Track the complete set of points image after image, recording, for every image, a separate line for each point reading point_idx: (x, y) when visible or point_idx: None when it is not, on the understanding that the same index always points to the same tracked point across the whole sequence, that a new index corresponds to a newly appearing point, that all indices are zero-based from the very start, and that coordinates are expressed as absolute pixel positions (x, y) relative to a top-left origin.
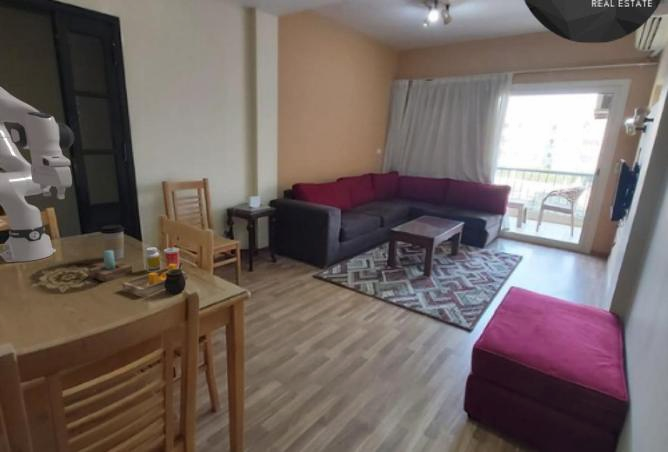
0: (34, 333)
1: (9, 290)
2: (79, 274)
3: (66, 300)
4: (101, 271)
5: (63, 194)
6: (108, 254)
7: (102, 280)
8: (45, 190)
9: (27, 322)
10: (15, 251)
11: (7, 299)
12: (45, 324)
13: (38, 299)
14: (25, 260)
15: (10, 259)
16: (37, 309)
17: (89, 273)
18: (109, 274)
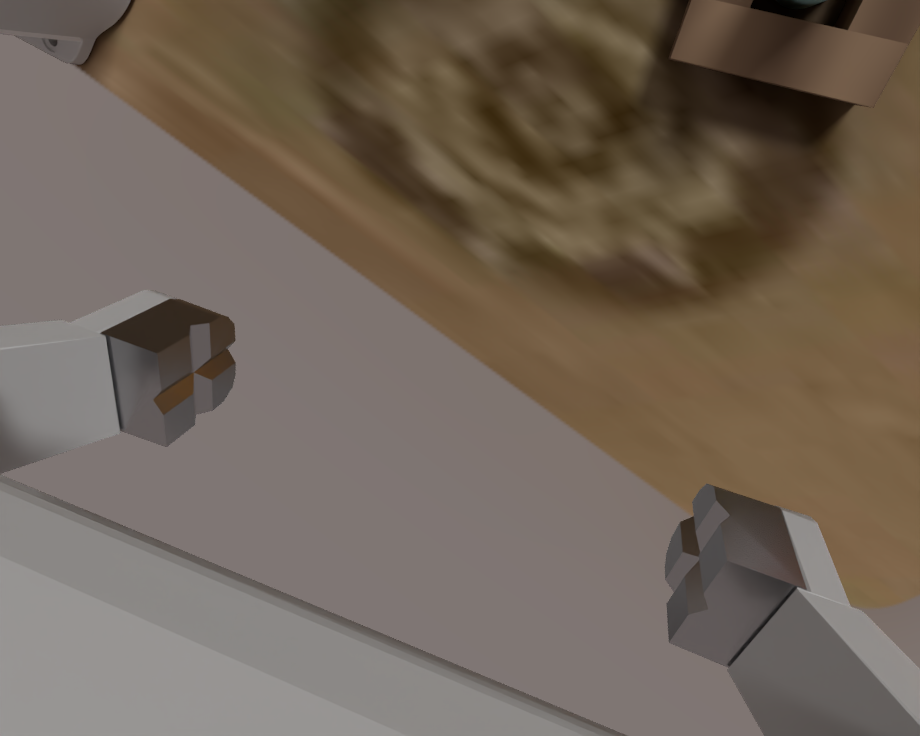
0: (870, 567)
1: (443, 321)
2: (579, 57)
3: (787, 355)
4: (801, 60)
5: (837, 608)
6: None
7: (817, 95)
8: (87, 403)
9: None
10: (41, 25)
11: (522, 385)
12: (862, 521)
13: (645, 367)
14: (120, 9)
15: (67, 45)
16: (724, 436)
17: (672, 59)
18: (890, 72)
